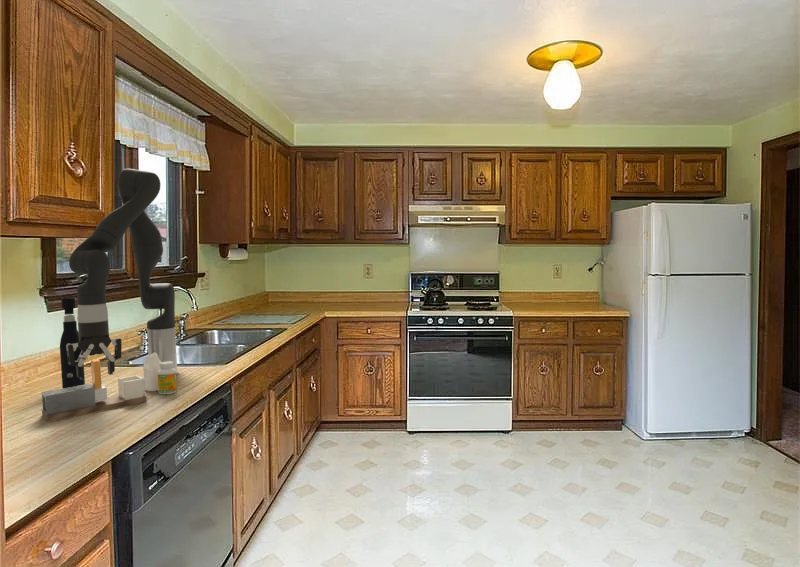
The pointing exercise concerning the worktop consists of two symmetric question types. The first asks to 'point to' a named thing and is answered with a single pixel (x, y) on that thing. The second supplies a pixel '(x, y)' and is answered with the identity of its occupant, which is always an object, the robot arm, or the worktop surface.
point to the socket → (131, 387)
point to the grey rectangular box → (68, 399)
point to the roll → (151, 372)
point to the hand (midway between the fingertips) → (96, 376)
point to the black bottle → (70, 337)
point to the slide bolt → (96, 382)
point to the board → (95, 407)
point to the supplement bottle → (167, 378)
